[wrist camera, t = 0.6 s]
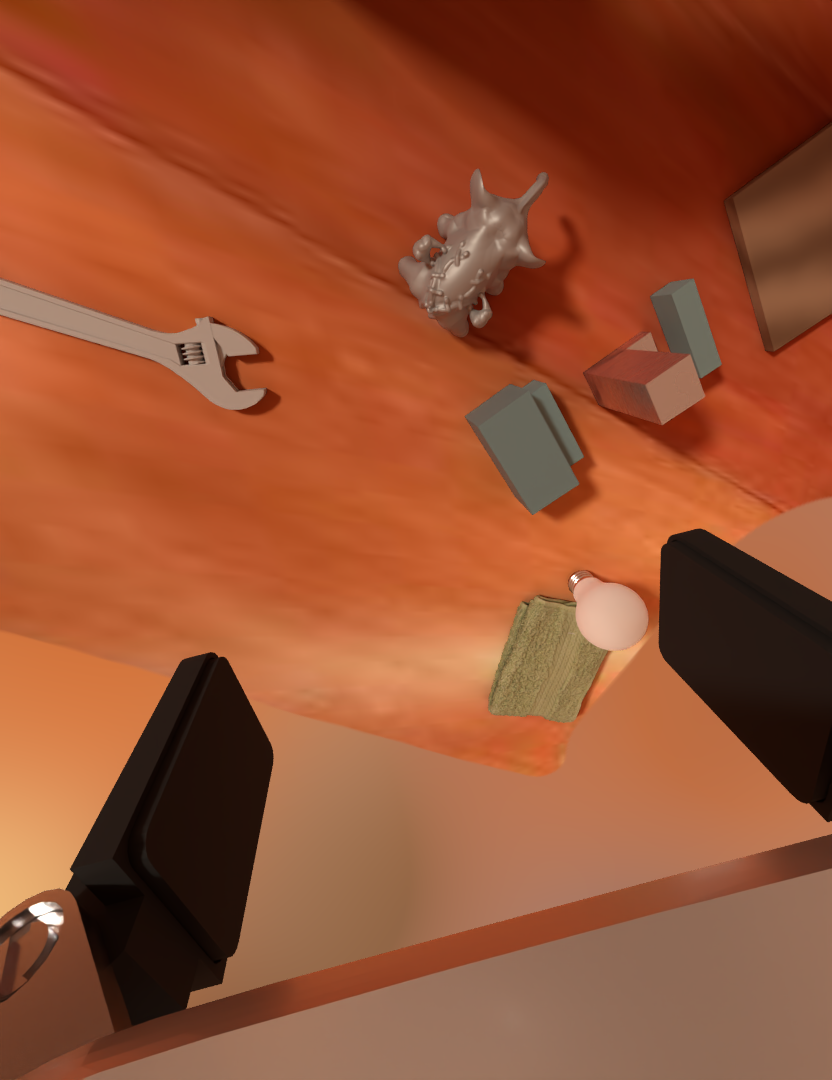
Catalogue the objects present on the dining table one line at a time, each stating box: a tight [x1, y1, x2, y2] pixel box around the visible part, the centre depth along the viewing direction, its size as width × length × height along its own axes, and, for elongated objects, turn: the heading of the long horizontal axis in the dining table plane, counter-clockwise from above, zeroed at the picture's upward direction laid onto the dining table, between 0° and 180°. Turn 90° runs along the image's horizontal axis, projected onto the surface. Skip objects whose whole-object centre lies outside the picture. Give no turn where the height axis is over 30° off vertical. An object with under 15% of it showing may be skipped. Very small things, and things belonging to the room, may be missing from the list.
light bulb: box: [568, 570, 649, 651], centre depth 47 cm, size 7×7×11 cm
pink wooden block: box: [583, 332, 705, 425], centre depth 38 cm, size 4×6×10 cm, turn 125°
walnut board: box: [724, 122, 832, 351], centre depth 39 cm, size 14×10×1 cm
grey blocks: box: [465, 279, 722, 515], centre depth 40 cm, size 10×21×5 cm, turn 125°
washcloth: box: [488, 595, 608, 723], centre depth 55 cm, size 13×18×3 cm
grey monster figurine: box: [398, 169, 549, 337], centre depth 33 cm, size 9×12×8 cm
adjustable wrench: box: [0, 278, 267, 410], centre depth 35 cm, size 25×6×2 cm, turn 67°
